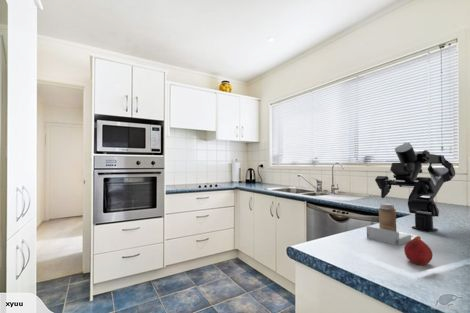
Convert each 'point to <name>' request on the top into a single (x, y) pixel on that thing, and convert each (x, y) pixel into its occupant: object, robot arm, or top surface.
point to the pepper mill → (387, 217)
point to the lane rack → (388, 235)
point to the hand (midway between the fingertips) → (395, 198)
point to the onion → (418, 251)
